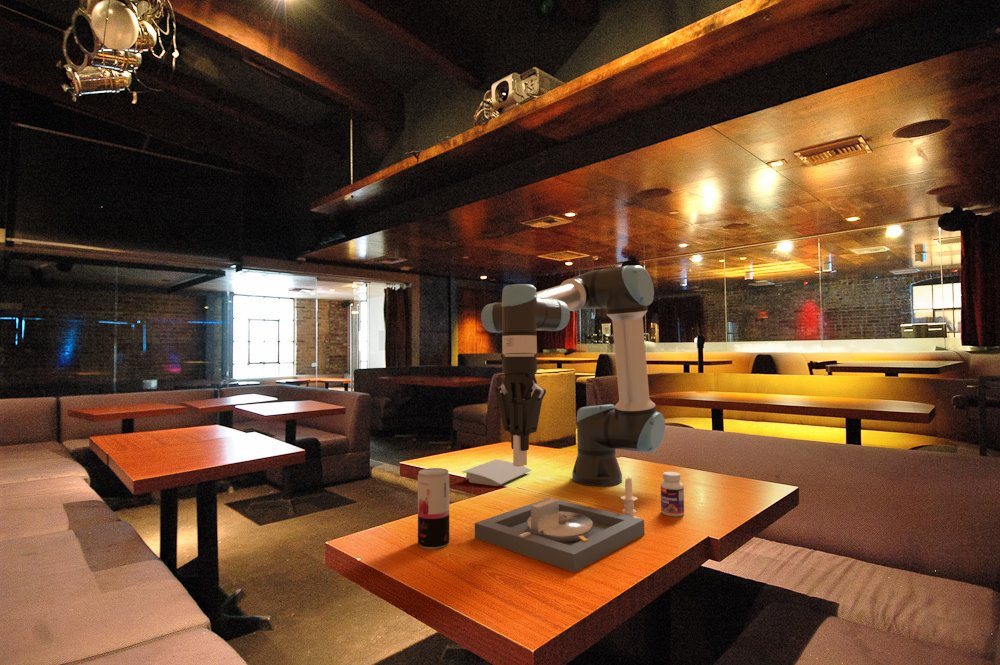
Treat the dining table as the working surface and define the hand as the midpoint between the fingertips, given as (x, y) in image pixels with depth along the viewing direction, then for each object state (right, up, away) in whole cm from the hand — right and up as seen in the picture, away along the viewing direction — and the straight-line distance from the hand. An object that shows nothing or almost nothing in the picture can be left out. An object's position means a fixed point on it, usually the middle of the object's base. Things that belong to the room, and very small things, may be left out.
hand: (520, 465), depth 110 cm
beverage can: (-18, -16, -3) cm, 24 cm away
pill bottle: (+38, -16, +15) cm, 44 cm away
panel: (+9, -15, 0) cm, 18 cm away
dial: (+8, -14, 0) cm, 16 cm away
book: (-6, -19, +54) cm, 57 cm away
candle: (+26, -16, +10) cm, 32 cm away
